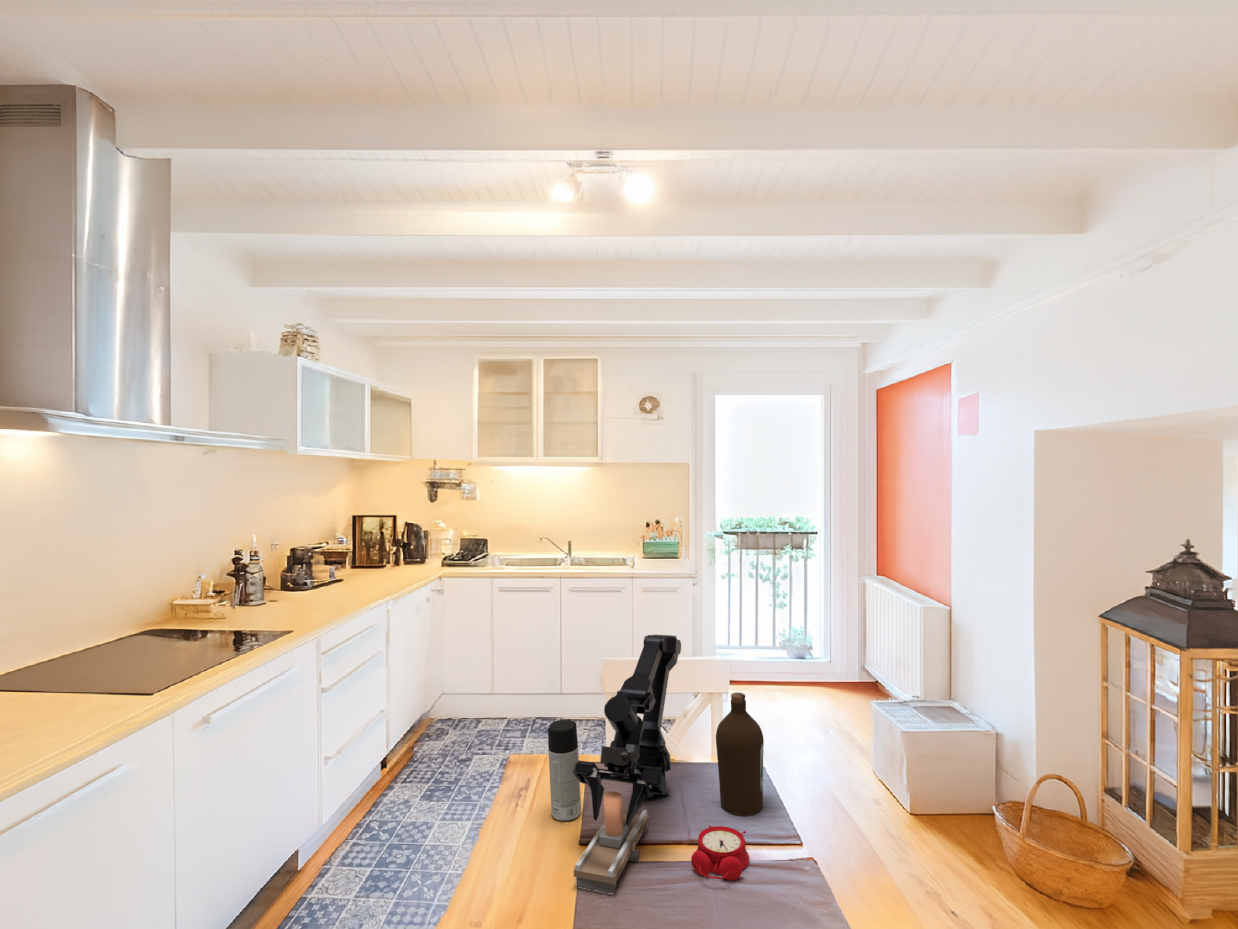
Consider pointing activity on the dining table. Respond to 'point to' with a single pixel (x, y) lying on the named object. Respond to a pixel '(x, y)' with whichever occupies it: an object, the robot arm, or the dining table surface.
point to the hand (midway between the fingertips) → (610, 822)
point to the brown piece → (609, 857)
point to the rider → (613, 822)
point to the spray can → (563, 770)
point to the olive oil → (740, 760)
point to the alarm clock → (720, 853)
